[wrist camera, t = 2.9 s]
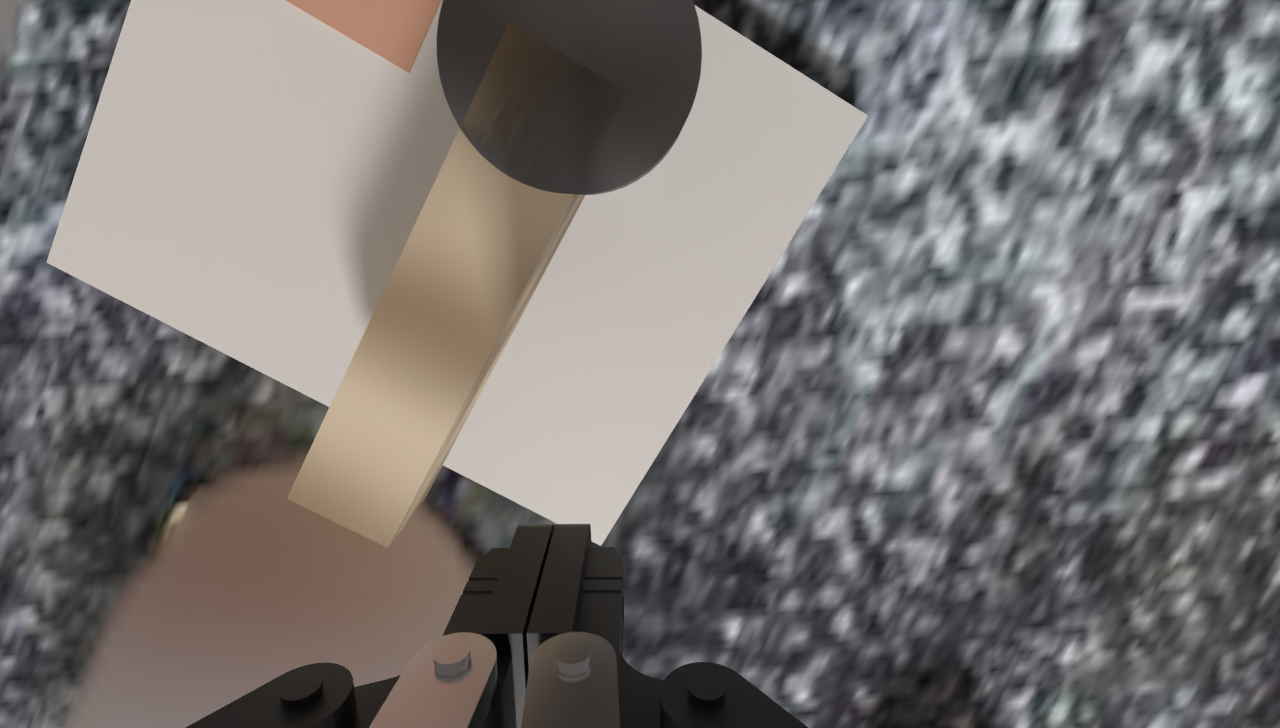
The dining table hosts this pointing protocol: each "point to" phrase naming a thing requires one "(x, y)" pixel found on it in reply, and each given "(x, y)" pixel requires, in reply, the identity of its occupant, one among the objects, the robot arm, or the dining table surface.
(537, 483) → the panel with salmon stripe
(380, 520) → the wooden handled scoop
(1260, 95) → the dining table surface
